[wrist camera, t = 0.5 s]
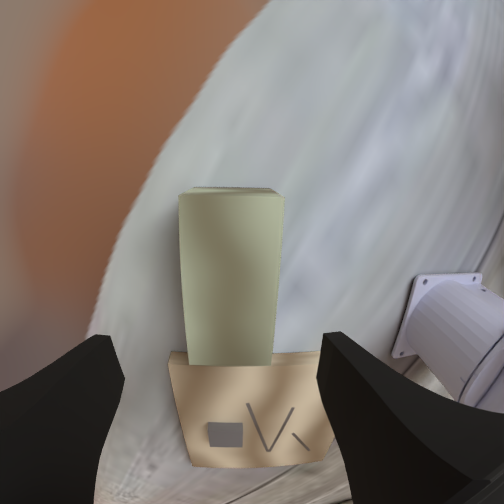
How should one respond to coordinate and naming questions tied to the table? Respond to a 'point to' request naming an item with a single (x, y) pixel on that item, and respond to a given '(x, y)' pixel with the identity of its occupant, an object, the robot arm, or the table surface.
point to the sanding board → (253, 410)
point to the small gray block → (225, 434)
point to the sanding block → (230, 273)
